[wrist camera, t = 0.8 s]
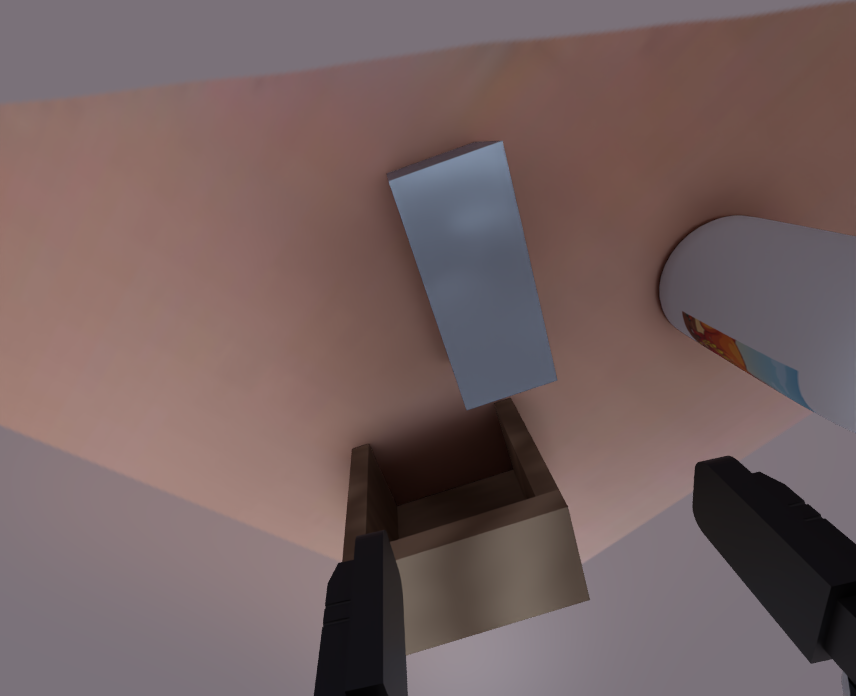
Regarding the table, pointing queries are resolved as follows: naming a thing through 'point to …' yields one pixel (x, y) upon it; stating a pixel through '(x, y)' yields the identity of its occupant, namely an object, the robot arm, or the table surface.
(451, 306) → the pale blue brick
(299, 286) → the table surface
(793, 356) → the milk bottle
